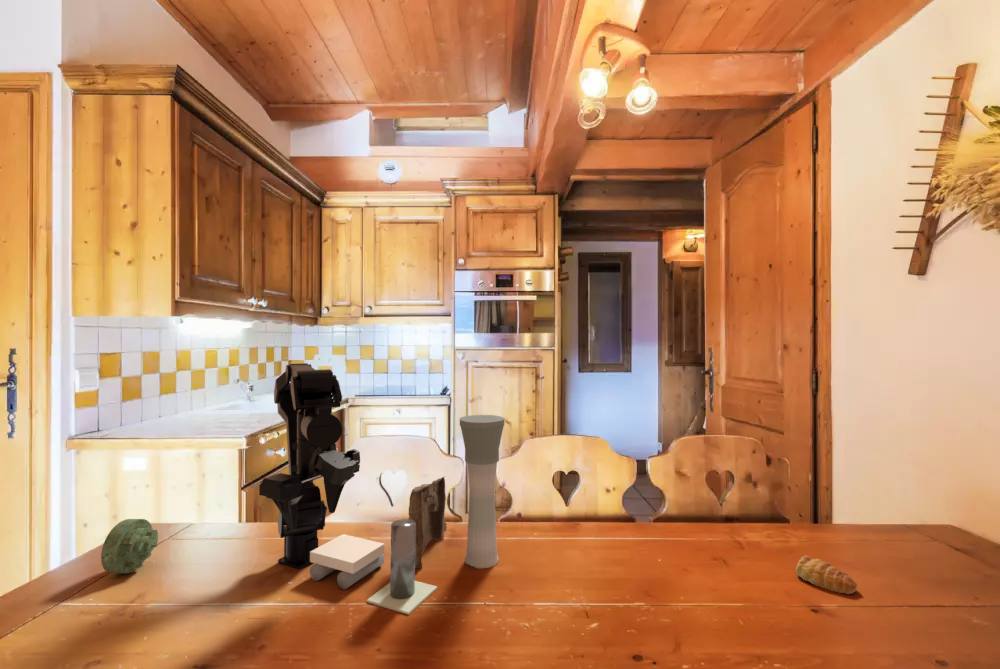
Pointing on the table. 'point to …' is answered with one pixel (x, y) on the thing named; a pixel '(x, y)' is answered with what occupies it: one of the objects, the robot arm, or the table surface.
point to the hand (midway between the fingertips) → (313, 521)
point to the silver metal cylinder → (402, 559)
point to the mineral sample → (427, 515)
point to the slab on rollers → (346, 559)
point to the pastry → (825, 575)
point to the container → (481, 486)
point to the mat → (402, 605)
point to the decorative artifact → (128, 546)
